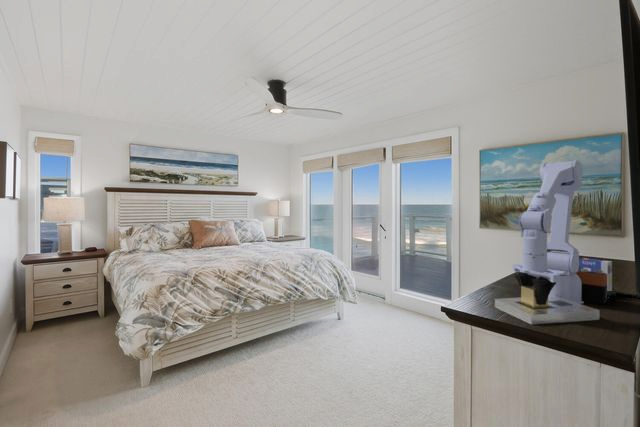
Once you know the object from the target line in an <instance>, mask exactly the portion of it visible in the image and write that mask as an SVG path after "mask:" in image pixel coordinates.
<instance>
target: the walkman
mask: <svg viewBox="0 0 640 427" xmlns="http://www.w3.org/2000/svg"><path fill="white" fill-rule="evenodd" d="M581 269H588V271H592V272H595V271H594V270H602V271H603V272H601V273H606V274H607V291H613V261H612V260H604V259H603V260H602V259H595V258H594V259H593V258H587V257H586V258H585V257H583V258H579V271H580V270H581Z"/></svg>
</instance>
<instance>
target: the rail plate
mask: <svg viewBox="0 0 640 427" xmlns="http://www.w3.org/2000/svg"><path fill="white" fill-rule="evenodd" d="M494 308H496V309H498V310H500V311H502V312H504V313H506V314H508V315H509V316H512V317H515V318H517V319H519V320H522V321H523V322H524V323H525V322H526V323H527V324H529V325H544V324H557V323H571V322H585V321H586V322H587V321H598V320H600V310H599V309H598V308H594V307H591V306H587V305H584V304H583V303H580V304H579V303H576V302H573V301H570V300H567V299H564V298H561V297H558V296H555V295H554V296H548V309H536V310H532V309H530V308H528V307H525V306H523V305H521V296H520V297H507V298H504V297H503V298H494Z"/></svg>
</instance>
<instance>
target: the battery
mask: <svg viewBox="0 0 640 427" xmlns="http://www.w3.org/2000/svg"><path fill="white" fill-rule="evenodd" d="M594 271H595V272H592V271H588V269H581V270H580V269H579V270H578V272H576V275H578V276H579V278H580V279H581V283H582V293H581V301H583V302H584V303H585V302H586V303H592V304H598V305H605V304H606V303H607V301H608V298H607V274H606V273H601V272H603V271H602V270H594Z"/></svg>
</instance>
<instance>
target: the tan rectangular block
mask: <svg viewBox="0 0 640 427" xmlns="http://www.w3.org/2000/svg"><path fill="white" fill-rule="evenodd" d="M520 297H521V305H523V306H525V307H528V308H530V309H532V310H536V309H548V299H547V302H546V305H538V304H537V298H536V290H535V286H534V285H528V286H521V287H520Z"/></svg>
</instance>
